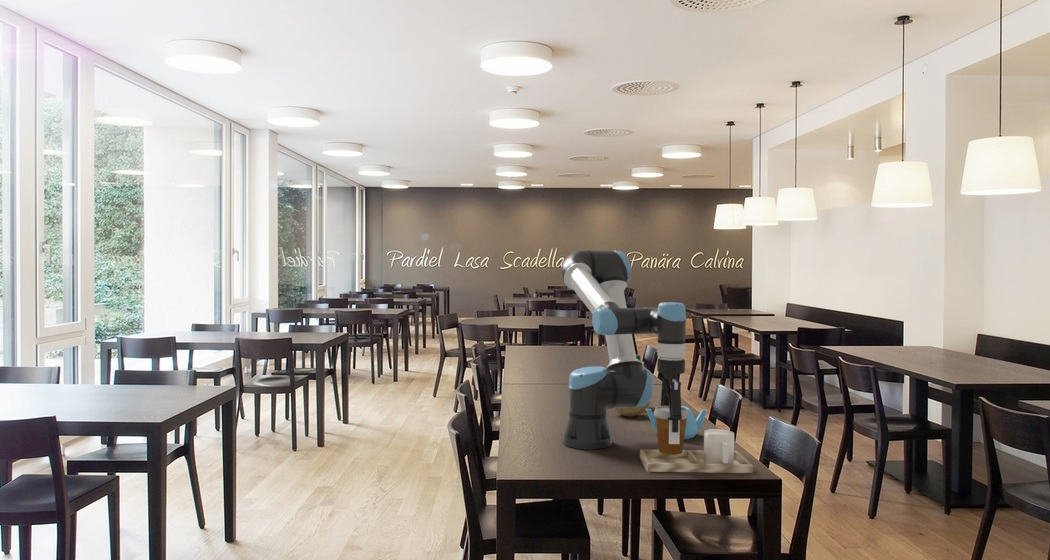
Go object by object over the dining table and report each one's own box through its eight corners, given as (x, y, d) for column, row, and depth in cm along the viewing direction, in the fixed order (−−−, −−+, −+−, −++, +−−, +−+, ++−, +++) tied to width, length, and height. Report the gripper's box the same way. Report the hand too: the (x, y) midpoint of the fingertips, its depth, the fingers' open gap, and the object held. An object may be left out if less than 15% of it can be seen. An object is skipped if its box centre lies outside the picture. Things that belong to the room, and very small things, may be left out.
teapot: (642, 434, 220) (642, 401, 220) (669, 427, 231) (670, 396, 230) (681, 443, 209) (681, 409, 209) (708, 436, 219) (708, 403, 219)
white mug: (710, 472, 179) (711, 438, 178) (700, 460, 189) (701, 428, 189) (740, 472, 178) (741, 439, 178) (729, 460, 189) (729, 429, 189)
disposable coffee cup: (682, 447, 190) (683, 405, 190) (692, 456, 181) (692, 412, 181) (649, 447, 190) (650, 405, 190) (657, 456, 180) (657, 412, 180)
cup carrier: (647, 473, 179) (647, 464, 179) (639, 458, 193) (639, 449, 193) (753, 474, 178) (753, 465, 178) (737, 459, 192) (737, 450, 192)
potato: (652, 418, 242) (652, 397, 242) (614, 418, 242) (614, 396, 242) (646, 413, 252) (647, 391, 252) (609, 412, 252) (610, 391, 252)
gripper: (694, 364, 174) (693, 449, 174) (676, 353, 196) (675, 429, 196) (665, 363, 174) (664, 449, 174) (650, 353, 196) (650, 429, 196)
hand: (670, 438), depth 185 cm, fingers closed on disposable coffee cup, 9 cm apart
